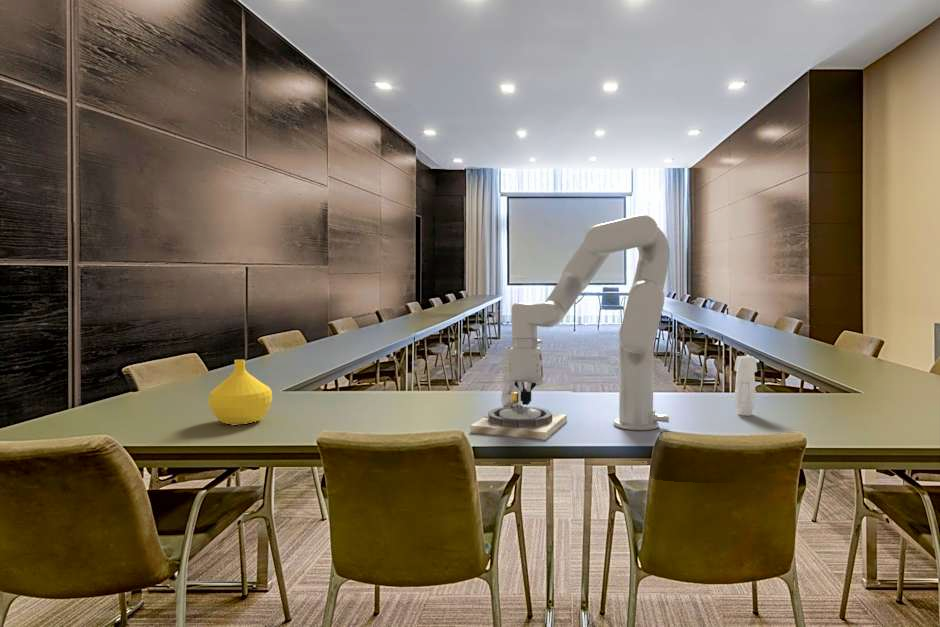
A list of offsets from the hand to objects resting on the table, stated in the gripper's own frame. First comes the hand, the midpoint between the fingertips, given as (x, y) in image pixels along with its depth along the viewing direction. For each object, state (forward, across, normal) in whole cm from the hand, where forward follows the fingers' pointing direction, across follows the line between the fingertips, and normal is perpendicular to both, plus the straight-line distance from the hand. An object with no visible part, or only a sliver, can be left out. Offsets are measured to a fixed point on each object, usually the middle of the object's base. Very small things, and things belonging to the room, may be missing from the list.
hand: (526, 403), depth 190 cm
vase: (+4, +83, +26) cm, 87 cm away
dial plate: (+5, 0, +8) cm, 9 cm away
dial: (+3, +1, +6) cm, 7 cm away
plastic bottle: (+5, +9, -16) cm, 19 cm away
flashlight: (+6, -63, -27) cm, 68 cm away
